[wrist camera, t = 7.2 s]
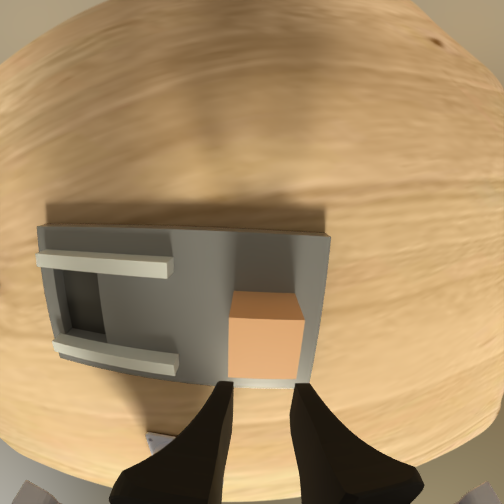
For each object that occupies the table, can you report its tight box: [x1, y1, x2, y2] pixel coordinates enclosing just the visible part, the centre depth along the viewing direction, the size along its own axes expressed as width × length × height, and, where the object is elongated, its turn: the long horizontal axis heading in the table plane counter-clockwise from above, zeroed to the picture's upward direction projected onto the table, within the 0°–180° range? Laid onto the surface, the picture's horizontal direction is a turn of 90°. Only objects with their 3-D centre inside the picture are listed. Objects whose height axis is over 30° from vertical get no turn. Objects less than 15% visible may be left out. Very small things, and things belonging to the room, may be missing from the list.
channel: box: [35, 224, 331, 389], centre depth 19 cm, size 12×22×3 cm, turn 87°
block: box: [228, 291, 305, 379], centre depth 17 cm, size 4×4×4 cm
